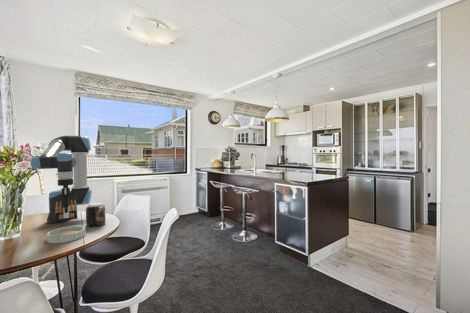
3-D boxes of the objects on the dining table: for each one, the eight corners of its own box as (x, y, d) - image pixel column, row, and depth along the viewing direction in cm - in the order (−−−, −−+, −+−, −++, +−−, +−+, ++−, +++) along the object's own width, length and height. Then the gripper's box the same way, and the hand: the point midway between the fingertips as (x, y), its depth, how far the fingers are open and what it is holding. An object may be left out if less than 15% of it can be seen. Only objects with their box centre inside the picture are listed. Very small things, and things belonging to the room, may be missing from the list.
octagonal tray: (48, 235, 139) (48, 229, 139) (85, 229, 150) (85, 223, 150) (44, 246, 124) (44, 239, 124) (86, 238, 135) (86, 231, 135)
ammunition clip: (55, 221, 133) (54, 201, 133) (55, 221, 134) (54, 201, 134) (77, 218, 139) (76, 199, 139) (77, 218, 140) (76, 198, 140)
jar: (84, 228, 152) (84, 206, 152) (87, 223, 163) (87, 203, 163) (104, 226, 157) (104, 204, 157) (106, 221, 168) (106, 201, 168)
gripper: (58, 178, 140) (59, 215, 141) (56, 180, 128) (57, 221, 128) (73, 177, 145) (74, 213, 145) (72, 179, 132) (73, 219, 133)
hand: (66, 217), depth 137 cm, fingers closed on ammunition clip, 2 cm apart
